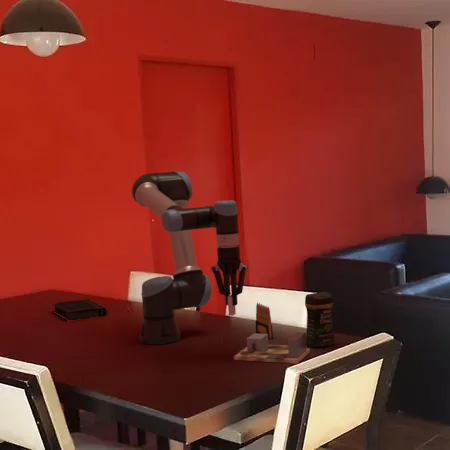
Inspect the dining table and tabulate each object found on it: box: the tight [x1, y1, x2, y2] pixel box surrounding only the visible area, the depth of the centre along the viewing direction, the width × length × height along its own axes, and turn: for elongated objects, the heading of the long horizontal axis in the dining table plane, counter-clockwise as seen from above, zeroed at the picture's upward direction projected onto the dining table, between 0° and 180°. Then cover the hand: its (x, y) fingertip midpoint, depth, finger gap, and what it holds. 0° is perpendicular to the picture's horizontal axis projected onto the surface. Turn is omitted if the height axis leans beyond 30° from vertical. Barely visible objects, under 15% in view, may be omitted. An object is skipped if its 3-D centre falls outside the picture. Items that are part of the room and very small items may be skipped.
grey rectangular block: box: [246, 332, 269, 353], centre depth 248 cm, size 5×11×5 cm, turn 157°
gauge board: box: [233, 344, 311, 365], centre depth 248 cm, size 22×14×2 cm, turn 67°
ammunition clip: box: [255, 302, 274, 340], centre depth 276 cm, size 11×2×12 cm, turn 24°
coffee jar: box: [304, 291, 335, 348], centre depth 258 cm, size 10×8×19 cm
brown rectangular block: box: [287, 331, 307, 358], centre depth 245 cm, size 3×10×6 cm, turn 157°
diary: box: [51, 298, 108, 320], centre depth 334 cm, size 19×25×5 cm
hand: (232, 314), depth 252 cm, fingers closed
